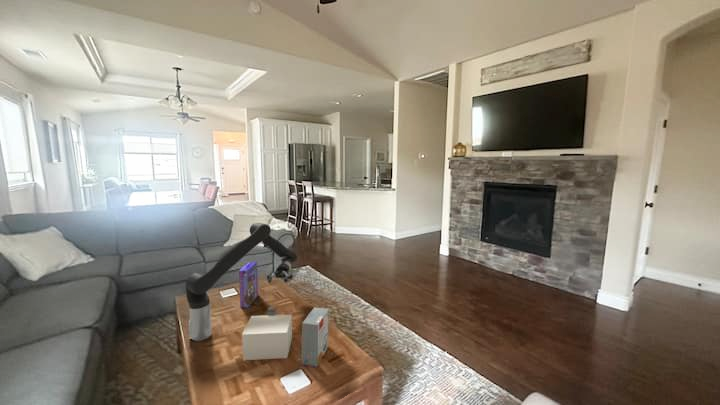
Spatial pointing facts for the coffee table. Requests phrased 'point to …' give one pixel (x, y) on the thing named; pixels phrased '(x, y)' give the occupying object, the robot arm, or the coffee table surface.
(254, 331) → the flap
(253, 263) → the cereal box
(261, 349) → the carton
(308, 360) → the hard drive box
